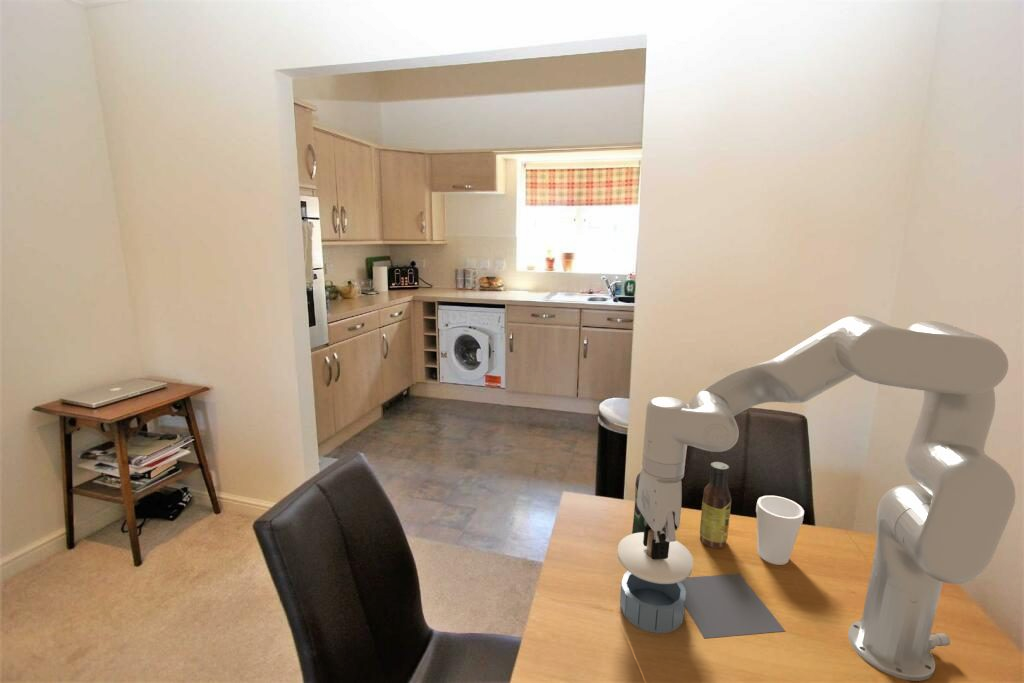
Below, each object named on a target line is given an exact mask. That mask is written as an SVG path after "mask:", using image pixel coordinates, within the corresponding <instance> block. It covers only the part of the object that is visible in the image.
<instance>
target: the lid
mask: <svg viewBox="0 0 1024 683" xmlns="http://www.w3.org/2000/svg"><path fill="white" fill-rule="evenodd" d="M654 533H655V531H653V530H652V529H650V530H649V531H648V540H647V546H644V544H643V539H644V532H640V533H634V534H632V533H631V534H628V535H626V536H624V537H623V538H621V540H620V541H619V543H618V546H617V558H618V561H619V563H620V564H621V566H622V567H623V568H624V569H625V570H626V572H628V571H629V572H630V573H631V574H633V575H634V576H636V577H638V578H640V579H643V580H646V581H649V582H653V583H659V584H672V583H678V582H681V581H683V580H685V579H686V578H688V577H691V576H690V575H691V574H692V572H693V569H694V568H693V567H694V558H693V555H692V554H691V552H690V551H689V549H688V548H687V547H686V546H685V545H684V544H682V543H681V542H679V541H678V540H676V541H675V542H669V553H668V558H667V559H655V560H653V559H652V558H651V547H652V539H654ZM662 533H665V532H663V531H662V530H661V531H660V534H662Z"/></svg>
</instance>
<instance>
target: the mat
mask: <svg viewBox="0 0 1024 683" xmlns="http://www.w3.org/2000/svg"><path fill="white" fill-rule="evenodd" d="M681 583H682V584H683V586H684V587H685V589H686V599H685V608H686V610H687V612H688V614H689V615H690V617H691V619H692V621H694V623H695V626H696V627H697V628H698V630H699V632H700V633H701V635H702V637H703V638H704V639H715V638H723V637H725V638H727V637H737V636H747V635H749V636H750V635H758V634H761V635H762V634H770V633H782V632H786V629H785V628H784V627H783V625H781V623H780V622H779V621H778V620H777V618H776V617H775V616H774V614H772V612H771V611H770V609H769V608H768V607H767V606H766V604H764V602H763V600H761V599H760V597H759V596H758V595H757V594H756V592H755V591H754V590H753V588H752V587H751V586H750V584H749V583H748V582H747V581H746V580H745V578H744V577H743V576H742V574H741V573H731V574H730V573H728V574H716V575H715V574H714V575H705V576H704V575H702V576H700V575H699V576H693V577H692V576H689V577H688V578H686V579H685V580H683V581H681Z"/></svg>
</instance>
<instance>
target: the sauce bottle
mask: <svg viewBox="0 0 1024 683" xmlns="http://www.w3.org/2000/svg"><path fill="white" fill-rule="evenodd" d="M729 473H730V466H729V465H728V464H726V463H724V462H720V461H714V462H711V463H710V475H709V476H710V477H709V483H707V485H706V486H705V487H704V490H703V497H702V503H701V504H702V505H701V513H700V527H699V534H700V535H699V539H700V541H701V542H702V544H704V545H705V546H707V547H709V548H713V549H721V548H724V547H725V546H726V544H727V541H728V536H729V527H730V526H729V525H730V517H731V506H732V497H731V492H730V489H729V485H728V479H729V478H728V476H729Z"/></svg>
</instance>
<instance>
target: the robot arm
mask: <svg viewBox="0 0 1024 683" xmlns="http://www.w3.org/2000/svg"><path fill="white" fill-rule="evenodd" d="M1008 372H1009V359H1008V357H1007V354H1006V353H1005V352H1004V350H1003V349H1002V348H1001V346H999V344H997V343H996V342H995V341H992V340H990V339H989V338H986V337H984V336H982V335H978V334H975V333H973V332H970V331H968V330H965V329H962V328H960V327H956V326H954V325H951V324H948V323H944V322H939V321H934V320H933V321H932V320H926V321H919V322H915V323H913V324H911V325H910V326H909V327H907V328H900V327H896V326H892V325H889V324H886V323H885V322H883V321H880V320H877V319H875V318H873V317H870V316H865V315H859V314H857V315H849V316H846V317H842V318H841V319H839V320H837V321H835V322H833V323H832V324H830V325H828V326H826V327H825V328H823V329H821V330H820V331H818V332H816V333H814V334H813V335H811V336H809V337H808V338H806V339H804V340H803V341H801V342H799V343H798V344H796V345H794V346H793V347H791V348H789V349H788V350H786V351H784V352H782V353H781V354H779V355H777V356H775V357H773V358H771V359H769V360H767V361H763V362H761V363H755V365H751V366H748V367H746V368H741V369H739V370H736V371H734V372H731V373H729V374H727V375H725V376H724V377H721V378H720V379H718V380H716V381H715V382H712V384H710V385H708V386H706V387H705V388H703V389H701V390H700V391H699V392H697V393H696V394H695V395H694V396H693V397H692V398H691V399H690V401H689V402H688V403H687V402H686V401H684V400H682V399H679V398H677V397H676V398H675V397H671V396H657V397H654V398H651V399H649V401H648V402H647V404H646V411H645V423H644V437H643V448H642V459H641V460H642V461H641V462H642V463H641V470H640V472H641V474H640V479H639V486H638V494H637V506H638V509H639V510H640V512H641V514H642V515H643V517H644V518H645V519H644V524H645V526H647V527H644V539H643V544H644V546H647V540H648V531H649V530H650V529H652V530H653V531H655V533H654V539H652V547H651V558H652V559H653V560H655V559H667V558H668V553H669V542H675V541H677V537H676V531H678V530H679V529H680V528H679V527H680V523H681V515H682V497H683V496H682V493H683V491H682V490H683V489H682V479H683V478H684V476H685V467H686V458H687V450H688V449H687V448H688V446H689V447H694V448H696V449H700V450H703V451H707V452H711V453H713V452H714V453H722V452H723V453H724V452H727V451H729V450H730V449H732V448H733V447H734V446H735V445H736V443H737V442H738V440H739V436H740V432H739V431H740V430H739V426H738V423H737V421H736V419H735V416H737V415H738V414H739V415H740V413H742V412H744V411H747V410H748V409H751V408H753V407H755V406H759V405H761V404H765V403H776V402H777V403H784V404H785V403H786V404H802V403H806V402H808V401H810V400H812V399H813V398H815V397H817V396H818V395H821V394H822V393H824V392H826V391H828V390H829V389H832V388H833V387H835V386H837V385H839V384H841V383H842V382H844V381H846V380H848V379H850V378H852V377H854V376H856V377H859V378H860V379H861V380H864V381H867V382H871V383H874V384H878V385H883V386H888V387H895V388H901V389H902V388H904V389H910V390H918V391H923V399H922V400H923V402H922V406H921V410H920V413H919V417H918V419H917V422H916V424H915V427H914V430H913V433H912V436H911V439H910V441H909V444H908V447H907V449H906V450H907V451H906V453H905V457H904V464H905V468H906V471H908V473H909V475H910V476H911V477H912V478H913V479H914V480H915V481H916V482H917V483H918V484H919V485H920V486H918V485H914V484H902V485H897V486H894V487H892V488H890V489H889V490H887V491H886V492H885V493H884V494H883V495H882V496H881V498H880V501H879V503H878V504H877V506H878V507H877V511H876V541H875V542H876V543H875V550H874V556H873V560H872V561H873V562H872V566H871V571H870V576H869V581H868V582H869V583H868V587H867V591H866V597H865V601H864V606H863V613H862V617H861V619H860V620H857V621H854V622H853V623H851V625H850V626H849V628H848V633H847V638H848V640H849V644H851V647H852V648H853V650H855V652H856V653H857V654H858V655H859V656H860V657H861V658H862V659H863V660H864V661H865V662H867V663H868V664H870V665H871V666H873V667H874V668H876V669H878V670H879V671H881V672H882V673H885V674H887V675H889V676H892V677H895V678H898V679H902V680H905V681H912V682H915V681H916V682H921V681H927V680H929V679H930V678H931V677H932V676H933V675H934V673H935V669H936V661H935V658H934V656H933V654H932V653H931V650H934V649H935V648H936V647H946V646H950V645H951V639H950V638H949V636H948V635H947V633H944V632H943V633H941V632H940V633H932V629H933V624H934V620H935V617H936V613H937V608H938V603H939V599H940V595H941V592H942V587H943V583H945V584H951V585H959V584H960V585H961V584H965V583H968V582H971V581H973V580H975V579H976V578H978V577H979V576H981V575H982V573H984V571H985V570H986V569H987V567H988V566H989V564H990V562H991V561H992V559H993V556H994V555H995V553H996V551H997V548H998V545H999V544H1000V541H1001V539H1002V536H1003V534H1004V531H1005V529H1006V527H1007V524H1008V522H1009V521H1010V519H1011V518H1010V517H1011V515H1012V512H1013V510H1014V506H1015V504H1016V488H1015V483H1014V481H1013V479H1012V477H1011V475H1010V474H1009V472H1008V471H1007V469H1005V468H1004V466H1002V465H1001V464H1000V463H999V462H997V461H996V460H995V459H993V458H992V457H991V456H989V455H987V454H986V453H985V446H986V441H987V438H988V435H989V433H990V429H991V426H992V423H993V419H994V415H995V411H996V392H995V388H996V387H997V386H998V385H1000V384H1001V383H1002V381H1004V379H1005V378H1006V375H1007V374H1008ZM661 530H666V533H662V534H660V531H661ZM931 633H932V634H931Z"/></svg>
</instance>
